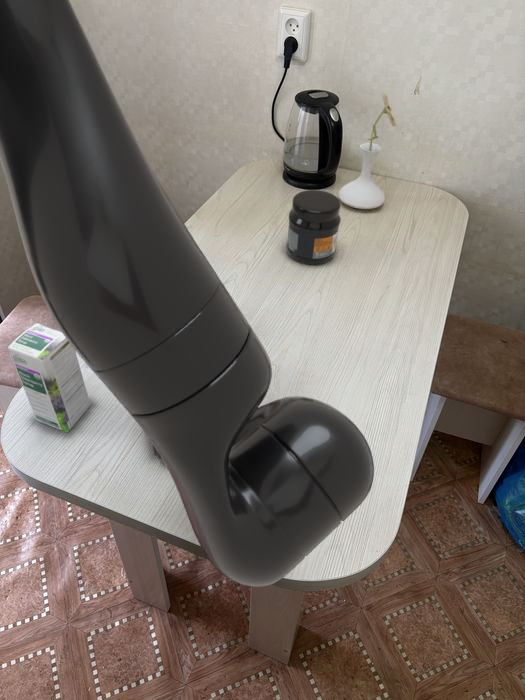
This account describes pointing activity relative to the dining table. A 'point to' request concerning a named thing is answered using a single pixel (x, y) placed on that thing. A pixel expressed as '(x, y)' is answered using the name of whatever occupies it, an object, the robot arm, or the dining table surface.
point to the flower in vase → (367, 173)
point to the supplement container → (313, 226)
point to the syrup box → (50, 376)
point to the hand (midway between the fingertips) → (205, 424)
